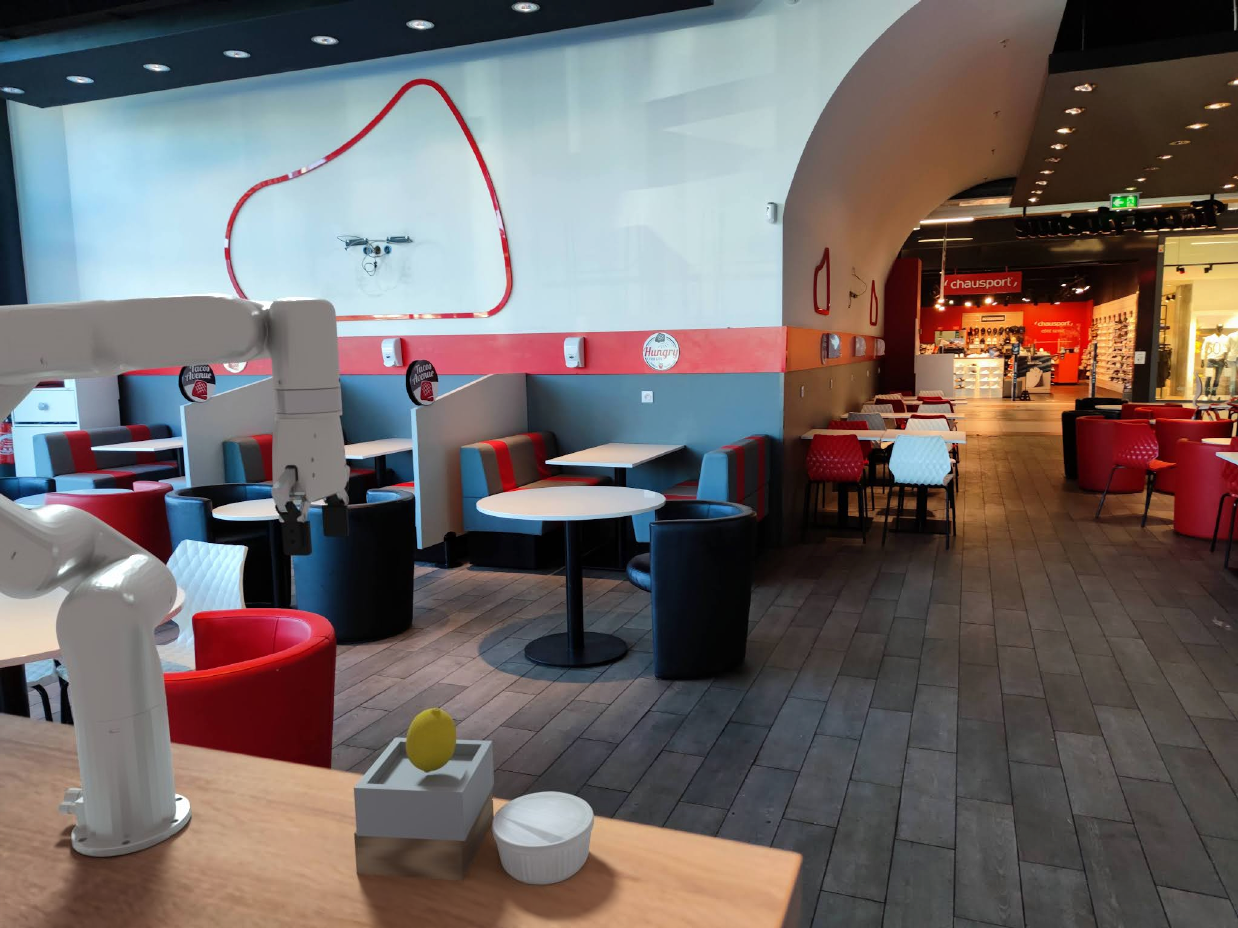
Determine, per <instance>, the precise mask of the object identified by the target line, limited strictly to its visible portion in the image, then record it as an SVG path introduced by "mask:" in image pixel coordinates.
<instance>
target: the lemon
mask: <svg viewBox="0 0 1238 928" xmlns="http://www.w3.org/2000/svg"><path fill="white" fill-rule="evenodd" d="M405 738H406V752H407V755H408V758H409V760H410V762H411V763H412V764H413V765H414V766H415V767H416V768H418V769H420V770H423V771H424V772H426V773H429V772H430V771H435V770H438V769H440V768H442V767H443V766H444V765H446V764H447V763H448V761H449V760H450V759H451V757H452V755H453V753H454V749H455V745H456V740H457V727H456V724H455V721H454V719H453V718H452V716H451V715H450V714H449V713H447V711H444V710H442V709H440V708H439V707H434V708H427V709H424V710H422V711H421V712H420V713H418V714H417V715H416V716H415V717H414V719H413V720H412V721H411V723H410V725H409V728H408V730H407V734H406V737H405Z"/></svg>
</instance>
